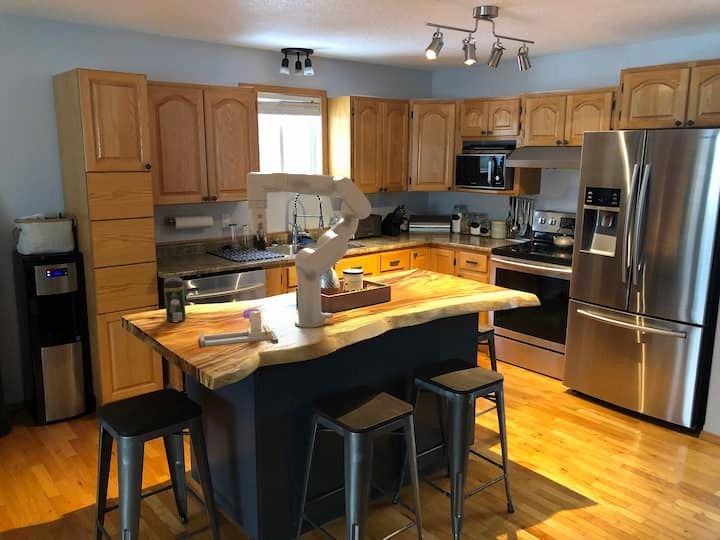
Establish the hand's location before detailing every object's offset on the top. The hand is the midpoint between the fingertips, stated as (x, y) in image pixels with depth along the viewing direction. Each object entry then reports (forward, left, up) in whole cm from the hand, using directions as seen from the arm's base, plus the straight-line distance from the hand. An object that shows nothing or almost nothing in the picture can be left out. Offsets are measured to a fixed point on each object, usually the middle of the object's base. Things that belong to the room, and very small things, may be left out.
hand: (259, 248), depth 230 cm
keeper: (+4, +11, -32) cm, 34 cm away
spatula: (+2, -16, -34) cm, 38 cm away
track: (+11, +11, -33) cm, 37 cm away
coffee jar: (+33, -29, -34) cm, 55 cm away
